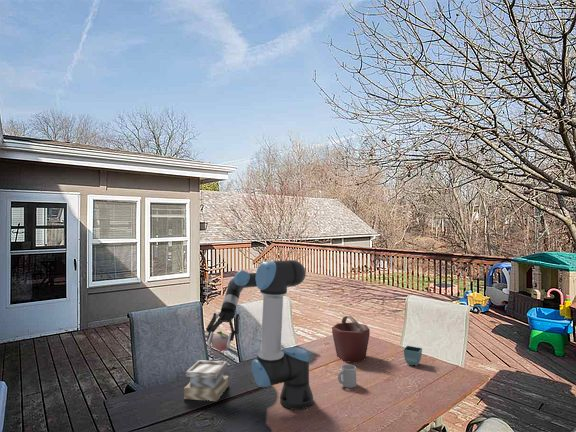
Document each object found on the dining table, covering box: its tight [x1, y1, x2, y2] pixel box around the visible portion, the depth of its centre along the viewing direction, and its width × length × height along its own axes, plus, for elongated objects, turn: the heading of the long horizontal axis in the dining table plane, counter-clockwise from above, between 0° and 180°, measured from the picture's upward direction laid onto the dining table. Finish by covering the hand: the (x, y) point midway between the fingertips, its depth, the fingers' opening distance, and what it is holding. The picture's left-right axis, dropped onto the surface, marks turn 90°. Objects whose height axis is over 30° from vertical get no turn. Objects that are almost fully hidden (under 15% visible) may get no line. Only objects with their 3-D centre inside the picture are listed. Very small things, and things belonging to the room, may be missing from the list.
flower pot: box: [403, 345, 423, 367], centre depth 201 cm, size 9×9×9 cm
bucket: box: [331, 315, 371, 363], centre depth 213 cm, size 24×22×25 cm
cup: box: [337, 363, 357, 389], centre depth 173 cm, size 7×10×9 cm
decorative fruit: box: [211, 331, 229, 352], centre depth 169 cm, size 9×8×10 cm
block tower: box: [183, 359, 229, 402], centre depth 166 cm, size 16×16×12 cm
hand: (218, 346), depth 165 cm, fingers closed on decorative fruit, 9 cm apart
